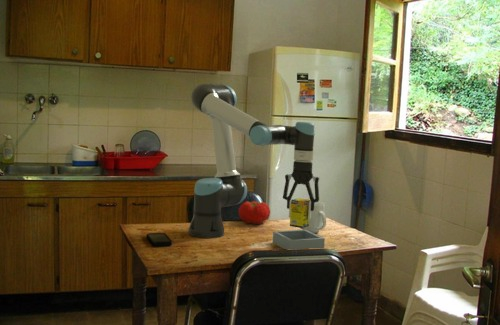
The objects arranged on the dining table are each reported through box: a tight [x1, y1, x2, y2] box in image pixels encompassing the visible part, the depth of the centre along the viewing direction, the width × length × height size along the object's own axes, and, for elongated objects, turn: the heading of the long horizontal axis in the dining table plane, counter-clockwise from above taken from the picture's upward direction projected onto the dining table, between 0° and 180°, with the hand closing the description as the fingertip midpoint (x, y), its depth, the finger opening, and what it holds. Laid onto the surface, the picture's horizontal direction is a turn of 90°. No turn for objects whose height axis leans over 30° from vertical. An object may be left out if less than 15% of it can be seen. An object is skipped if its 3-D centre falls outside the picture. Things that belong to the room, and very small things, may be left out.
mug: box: [301, 201, 327, 234], centre depth 247 cm, size 15×11×13 cm
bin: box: [272, 229, 326, 250], centre depth 223 cm, size 15×15×5 cm
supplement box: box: [289, 197, 310, 229], centre depth 221 cm, size 6×6×11 cm
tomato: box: [238, 200, 271, 225], centre depth 262 cm, size 14×16×10 cm
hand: (299, 217), depth 222 cm, fingers closed on supplement box, 7 cm apart
